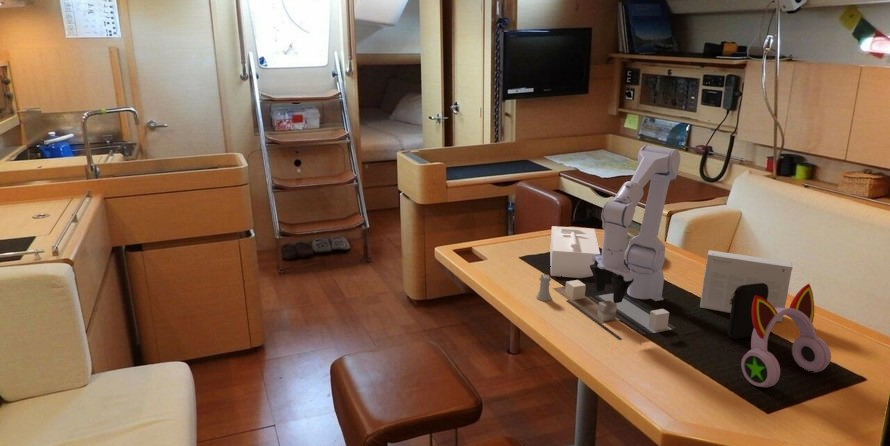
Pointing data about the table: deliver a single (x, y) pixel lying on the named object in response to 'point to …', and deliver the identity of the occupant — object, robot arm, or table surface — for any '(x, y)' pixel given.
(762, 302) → the headphones
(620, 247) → the robot arm
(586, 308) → the strip
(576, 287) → the cube
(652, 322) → the strip
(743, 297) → the carrying case or bag
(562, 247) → the white rectangular block
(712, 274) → the skincare box
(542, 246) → the table surface
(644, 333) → the lane rails
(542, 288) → the rook chess piece
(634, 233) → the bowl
